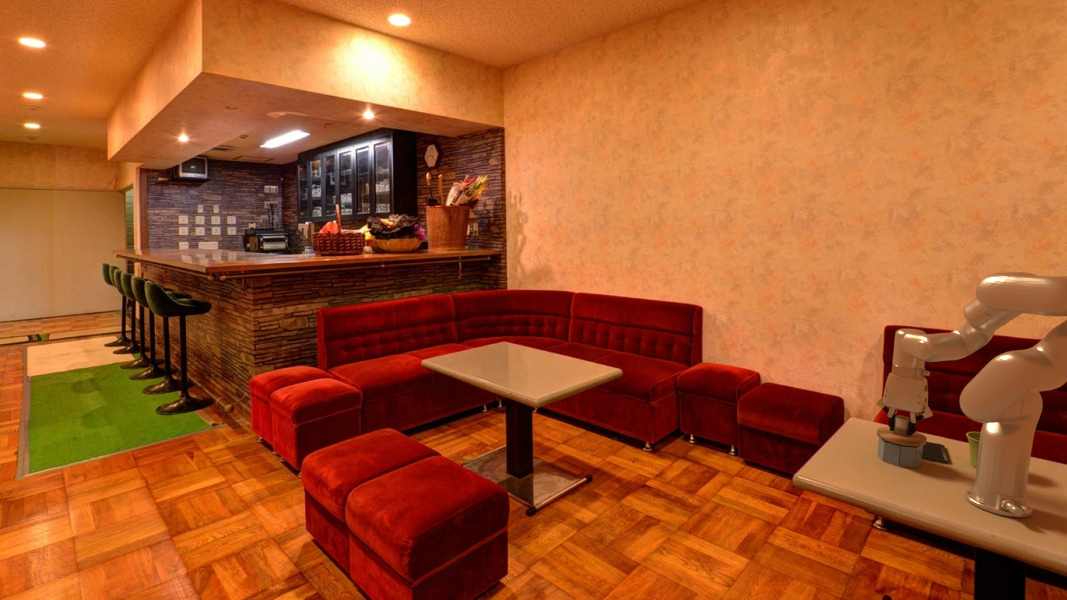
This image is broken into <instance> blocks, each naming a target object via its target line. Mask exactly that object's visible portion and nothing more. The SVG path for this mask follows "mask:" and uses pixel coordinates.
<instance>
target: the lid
mask: <svg viewBox="0 0 1067 600" xmlns="http://www.w3.org/2000/svg"><path fill="white" fill-rule="evenodd" d="M910 420H911V417H909V416H906V415H900V414H899V415H898V414H897V415H896V416H895V421H894V431H890V427H889V426H880V427H878V428H877V431H876V436H877V437H878V438H879V437H880V438H882V439H884V440H886V441H888V442H892V443H895V444H900V445H905V446H923V445H925V444H926V442H928V440H927V436H925V435H924V434H922V433H920V432H917V431H916V433H914V434H913V435H911V436H908V435H907V433H908V423H909V422H910Z"/></svg>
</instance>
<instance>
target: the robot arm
mask: <svg viewBox="0 0 1067 600" xmlns="http://www.w3.org/2000/svg"><path fill="white" fill-rule="evenodd" d="M975 297H976V298H974V299H973V300H971V301H970V302H969V303H967V304H966V305H965V306H964V307H963V309H962V314H963V317H964V318H965V320H966V322H964V323H963V324H962V325H960V326H959V327H957V328H956V329H954V330H953V331H951V332H942V333H940V332H939V333H926V332H925V331H924V330H921V329H916V328H900V329H897V330H896V331H895V333H894V334H895V336H894V344H893V345H894V346H893V355H892V363H891V364H892V366H891V372H889V373H888V376H887V379H886V382H885V387H884V389H883V390H884V392H883V396H882V397H881V398H879V400H878V401H877V402H876V405H877V406H878V407H880V408H881V409H882V411H883V412H884V413H886V416H887V418H888V426H887V427H890V431H894V421H895V416H897V411H898V410H900V411H905V412H909V415H910V417H909V418H911V420H910V422H909V423H908V433H907V435H908V436H911V435H913V434H914V433H916V432H917V428H918V427H917V425H918V423H919V422H920V421H921V420H923V419H927V418H931V417H933V416H934V414H933V411H932V410H931V408H930V407H929V403H928V401H929V399H928V398H929V390H928V389H929V387H928V379H927V378H926V376H927V377H930V374H931V372H930V371H929V370H926V368H925V362H928V363H933V362H943V361H944V362H945V361H946V362H947V361H957V360H961V359H963V358H966V357H968V356H970V355H972V354H973V353H975V352H977V351H979V349H981V348H983V347H984V346H986V345H987V344H988V343H989V342H990V341H991V340H992V338H993V337H994V335H995V333H996V331H997V330H999V329H1000V328H1002V327H1003V326H1005V325H1006V324H1008V323H1009V322H1011V321H1013V320H1014V319H1017V317H1019V316H1021V315H1023V314H1028V315H1035V316H1046V317H1067V276H1066V275H1064V276H1059V275H1058V276H1045V275H1043V276H1041V275H1036V274H1033V273H1030V272H1026V271H1024V272H1023V271H1017V272H1015V271H1013V272H1010V271H1009V272H995V273H992V274H989V275H987V276H985V277H983V278H982V279H981V280H980V281H979V282H978V284H977V285H976V288H975ZM1066 383H1067V319H1065V320H1064V321H1063V322H1061V323H1060V324H1058V325H1057V326H1055V327H1053V328H1052V329H1051V330H1050V331H1049V332H1047V334H1046V335H1045V336H1044V337H1043V338H1042V339H1041V340H1040V341H1039V342H1038V343H1036V344H1035V345H1033V346H1032V347H1030V348H1027V349H1018V350H1010V351H1006V352H1004V353H1003V352H1002V353H1001V354H999V355H997V356H995V357H994V358H992V359H991V360H990V361H989V362H988V363H986V365H985V366H984V367H982V369H981V370H980V371H979V372H978V373H977V374H976V375H975V376H974V377H973V378H972V379H971V380H970V381H969V382H968V383H967V384H966V385H965V387H964V388H963V389H962V391H961V393H960V395H959V407H960V409H961V411H962V413H963V414H964V415H965V417H967V418H969V419H970V420H972V421H974V422H976V423H980V424H982V426H981V430H980V432H981V435H980V442H979V450H978V459H977V467H975V468H976V469H975V477H974V486H973V488H968V489H967V490H966V491H965V493H964V494H965V495H964V497H965V499H966V500H967V502H969V503H971V504H972V505H973V506H975V507H977V508H979V509H982V510H984V511H987V512H990V513H992V514H997V515H1000V516H1003V517H1004V516H1005V517H1010V518H1028V517H1030V516H1032V515H1033V507H1032V506H1031V504H1029V503H1028V502H1027V498H1026V494H1027V488H1028V486H1027V484H1028V477H1029V470H1030V462H1031V455H1032V450H1033V444H1034V438H1035V437H1034V436H1035V432H1036V429H1037V424H1038V422H1039V420H1040V417H1041V416H1042V415H1041V414H1042V411H1043V405H1044V404H1043V398H1042V396H1041V394H1040V392H1044V391H1045V392H1046V391H1052V390H1055V389H1058V388H1060V387H1062V386H1063V385H1065V384H1066ZM923 412H924V413H923Z"/></svg>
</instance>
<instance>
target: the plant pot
mask: <svg viewBox="0 0 1067 600" xmlns="http://www.w3.org/2000/svg"><path fill="white" fill-rule="evenodd" d="M965 435H966V437H967V440H968V446H969V463H970V464H971V466H972V467H974V468H976V467H977V459H978V450H979V442H980V435H981V431H969V432H967V433H966V434H965Z"/></svg>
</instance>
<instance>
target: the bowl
mask: <svg viewBox="0 0 1067 600" xmlns="http://www.w3.org/2000/svg"><path fill="white" fill-rule="evenodd" d="M922 451H923V446H905V445H900V444H895V443H892V442H888V441H886V440H884V439H882V438H880V437H879V436H878V445H877V457H878V458H879V459H880V460H881V461H882V462H884V463H887V464H890V465H893V466H895V467H901V468H902V467H903V468H910V469H911V468H913V469H915V468H917V467H919V466H921V465H922V461H923V459H922Z"/></svg>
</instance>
